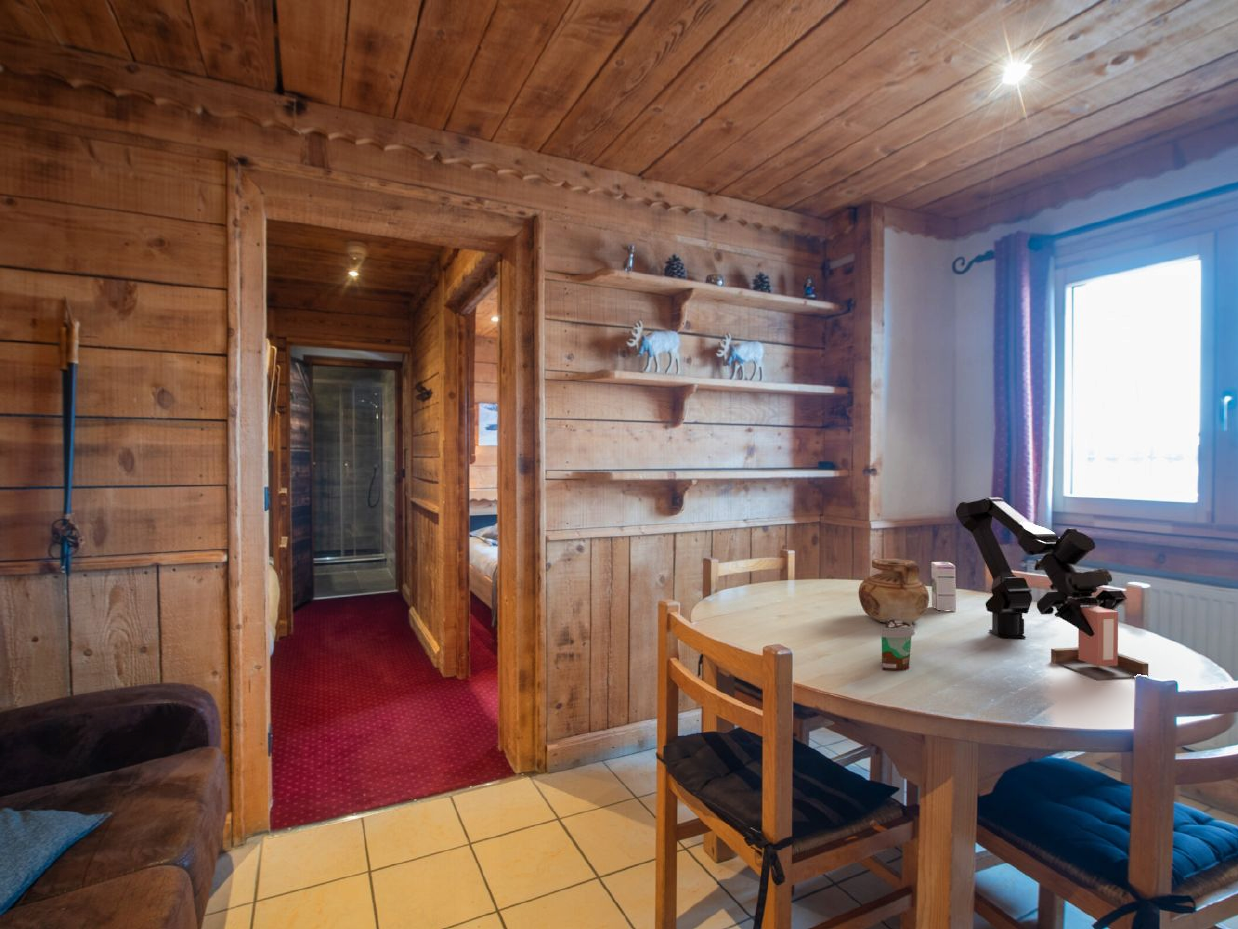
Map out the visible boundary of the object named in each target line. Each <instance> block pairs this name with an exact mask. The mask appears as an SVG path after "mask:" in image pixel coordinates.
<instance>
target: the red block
mask: <svg viewBox="0 0 1238 929" xmlns="http://www.w3.org/2000/svg"><path fill="white" fill-rule="evenodd" d="M1081 611H1082V613H1083V615H1084V616H1085V618H1086V620H1087V621H1088V623H1089V624H1090V626H1091V628H1092V630H1093V632H1094V635H1093V636H1089V635H1087V634H1086V633H1084V632H1083V631H1081V630H1080V629H1078V635H1077V636H1078V638H1077V639H1078V645H1077V646H1078V659H1079V660H1081V661H1084V662H1087V663H1089V664H1092V665H1094V666H1097V667H1100V666H1118V652H1119V646H1118V645H1119V611H1117V610H1115V609H1114V610H1110V609H1107V608H1103V607H1099V606H1092V607H1089V606H1081Z"/></svg>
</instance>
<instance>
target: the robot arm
mask: <svg viewBox="0 0 1238 929" xmlns="http://www.w3.org/2000/svg"><path fill="white" fill-rule="evenodd" d="M955 515H956V517H957V519H958V521H959V523H960V524H961V526H962V527H964V528H965V529H966V530H967V531H968V532H970V533H971V534H972V536H973V537H974V538H973V539H974V540H975V542H976V545H977V547H978V550H979V551H980V553H981V556H982V558H983V560H984V563H985V564H986V567H987V569H988V571H989V573H990V576H991V579H992V583H991V589H990V590H991V593H992V595H991V596H990V597H989V599H987V601H986V602H985V609H986V611H987V612H990V613H991V622H992V623H991V629H988V632H989V633H991V634H993V635H994V636H997V637H998V638H1001V639H1026V635H1024V634H1025V619H1024V618H1023V614H1025V615H1026V614H1028V613H1029V610H1030V607H1031V605H1032V602H1033V596H1032V590H1031V588H1030V587H1029V585H1028V582H1027V580H1026V578H1025V577H1023V576H1020V577H1019V576H1016V575H1015V574H1014V573H1013V571H1012V569H1011V566H1010V565H1009V563H1008V560H1007V559H1006V557H1005V554H1004V552H1003V550H1002V548H1001V545H1000V544H999V542H998V539H997V538H996V535H995V533H994V531H993V529H992V523H993V519H995V520H996V521H997V522H999V523H1000V524H1001V525H1002V526H1003V527H1005V528H1006V529H1007V530H1008V531H1010V533H1012V534H1013V535H1014V536H1015V537H1016V539H1017V541H1016V542H1017V544H1018V545H1019V546H1020V548H1021V549H1022V550H1023V551H1024V552H1025V553H1026V554H1027V555H1028V556H1029V555H1030V556H1042V557H1041V558H1040V559H1036V560H1035V565H1034V571H1044V573H1045V575H1046V576H1047V578H1049V580H1050V582H1051V584H1050V585H1049V588H1050V589H1051V591H1048V592H1046V593H1045V594H1044V595H1043V596H1042V597H1041V598H1040V599H1039V600H1038V601H1037V602H1036V609H1037V610H1038V612H1039V614H1041V616H1042V615H1052V614H1053V613H1054V611H1055V609H1056V613H1054V616H1055V617H1056V618H1060V619H1062V620H1063V621H1066V622H1067V623H1069V624H1071V625H1072V626H1073V627H1075V628H1077V629H1078V630H1079V629H1080V630H1081V631H1083V632H1084V633H1086V634H1087V635H1089V636H1093V635H1094V632H1093V630H1092V628H1091V626H1090V624H1089V623H1088V621H1087V620H1086V618H1085V616H1084V615H1083V613H1082V611H1081V607H1082V606H1088V607H1092V606H1099V607H1103V608H1107V609H1110V610H1114V611H1115V609H1116V608H1118V607H1119V606H1120V605H1121V604H1123V602H1125V601H1126V600H1127V599H1128V598H1127V596H1126V595H1125V594H1124V592H1123V591H1122V590H1121V589H1103V590H1101V591H1100V592H1099V593H1098V594H1097V595H1096V596H1095V595H1094V596H1093V594H1094V593H1096V592H1098V588H1099V587H1106V586H1109V585H1110V584H1109V583H1110V582H1111V583H1112V582H1113V577H1112V574H1111V572H1109V571H1108V569H1107V568H1106V567H1104V568H1098V569H1095V570H1093V571H1092V570H1091V571H1084V572H1081V571H1080V572H1079V571H1078V572H1077V571H1076V569H1075V568H1074V566H1073V565H1079V564H1080V563H1081V562H1082V561H1083V560H1084V559H1085V558H1086V557H1088V556H1089V555H1090V554H1091V552H1093V551H1094V549H1095V548H1096V543H1095V541H1094V539H1092V538H1091V537H1090V536H1088V535H1086V534H1085V533H1083V532H1080V531H1078V530H1077V528H1075V527H1071V528H1069V527H1068V528H1066V530H1065V531H1064V532H1063V534H1062V535H1061V536H1058V535H1057V533H1055V532H1053V531H1052V530H1049V529H1048V528H1046V527H1044V526H1043V527H1042V526H1039V525H1036V524H1034V523H1032V522H1031V521H1029V520H1028V519H1027V518H1026V517H1025V516H1023V515H1022V514H1021V513H1020V512H1018V511H1017V510H1016V509H1014V508H1013V507H1012V506H1010V505H1009V504H1008V503H1007V502H1006V501H1005V499H1004V498H1003V497H984V498H981V499H978V500H974V501H962V502H959V504H958V505H957V507H956V508H955ZM1054 608H1055V609H1054Z"/></svg>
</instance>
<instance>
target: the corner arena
mask: <svg viewBox="0 0 1238 929" xmlns="http://www.w3.org/2000/svg"><path fill="white" fill-rule="evenodd" d="M1050 662H1051V663H1053V664H1056V665H1059V666H1061V667H1064V668H1066V669H1068V670H1071V671H1074V672H1075V673H1079V674H1080V675H1083V676H1085V677H1087V678H1091V679H1092V680H1096V681H1106V680H1107V681H1108V680H1124V679H1125V680H1126V679H1135V678H1134V676H1136V675H1137V674H1141V675H1147V676H1148V677H1149V663H1148V662H1145V661H1142V660H1140V659H1136V658H1135V657H1132V656H1131V657H1130V656H1127V655H1124V654H1122V653H1118V666H1100V667H1097V666H1094V665H1092V664H1089V663H1087V662H1084V661H1081V660H1079V659H1078V647H1061V648H1060V647H1059V648H1051V649H1050Z"/></svg>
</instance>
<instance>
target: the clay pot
mask: <svg viewBox="0 0 1238 929" xmlns="http://www.w3.org/2000/svg"><path fill="white" fill-rule="evenodd" d="M871 567H872V568H873V569H876V570H879V571H882V572H881V573H875V574H873V575H869V576H868V577H866V578H864V580H862V582H861V583H860V585H859V587H858V599H859V602H860V605H861V607H862V610H863V611H864V613H865V614H866V615H867V616H868V617H869V618H871V619H873V620H875V621H877V620H878V621H877V622H880V621H881V622H880V623H884V622H886V624H887V623H889V621H890V616H891V617H898V618H902V619H905V620H908V621H910V622H911V623H912V624H913V623H914V622H916V621H918V620H919V619H921V618H922V617H923V616H924V615H925V612H926V611H927V609H928V606H929V602H930V593H929V592H928V589H927V586H926V585H925V584H924V583H923V582H922V581H921V580H920V579H919V575H920V567H919V565H918V564H917V563H916V561H914V560H912V559H911V560H910V559H906V558H905V559H904V558H892V557H891V558H888V557H887V558H884V557H883V558H875V559H872V560H871Z"/></svg>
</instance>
